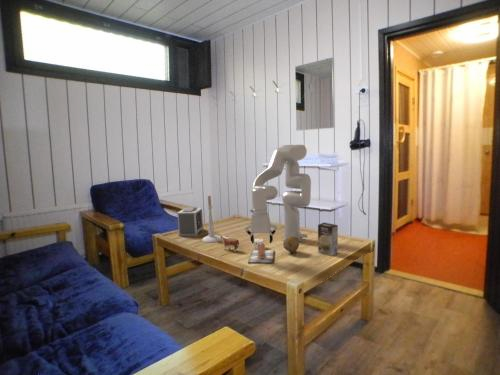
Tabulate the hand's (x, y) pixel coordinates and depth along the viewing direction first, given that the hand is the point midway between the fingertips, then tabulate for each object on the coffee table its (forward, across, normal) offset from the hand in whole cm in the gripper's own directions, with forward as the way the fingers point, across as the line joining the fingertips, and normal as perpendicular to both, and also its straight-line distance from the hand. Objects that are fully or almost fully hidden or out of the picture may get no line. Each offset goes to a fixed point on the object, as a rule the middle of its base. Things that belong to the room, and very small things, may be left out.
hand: (261, 242), depth 164 cm
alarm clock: (+10, -56, +51) cm, 76 cm away
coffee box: (+10, +35, +8) cm, 38 cm away
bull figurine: (+9, -21, +13) cm, 26 cm away
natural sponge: (+10, +15, +8) cm, 20 cm away
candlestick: (+10, -37, +33) cm, 50 cm away
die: (+9, -4, +16) cm, 19 cm away
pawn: (+8, 0, -1) cm, 8 cm away
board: (+9, -1, +1) cm, 9 cm away
